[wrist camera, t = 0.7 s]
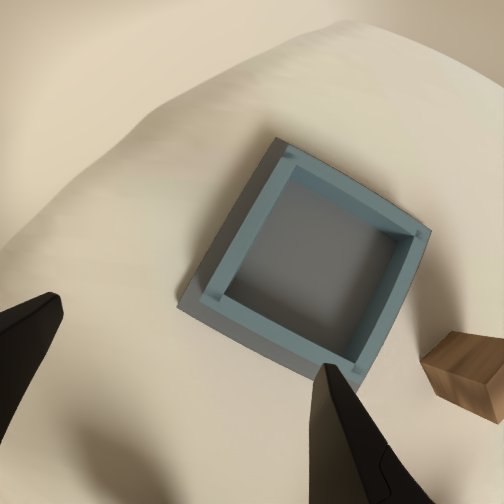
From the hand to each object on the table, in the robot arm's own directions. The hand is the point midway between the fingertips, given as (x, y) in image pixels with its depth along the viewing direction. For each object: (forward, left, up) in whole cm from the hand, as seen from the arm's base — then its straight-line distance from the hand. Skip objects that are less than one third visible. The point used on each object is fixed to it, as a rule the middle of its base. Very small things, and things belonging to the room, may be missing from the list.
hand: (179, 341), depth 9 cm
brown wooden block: (-16, -14, -15) cm, 27 cm away
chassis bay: (-1, -8, -15) cm, 17 cm away
